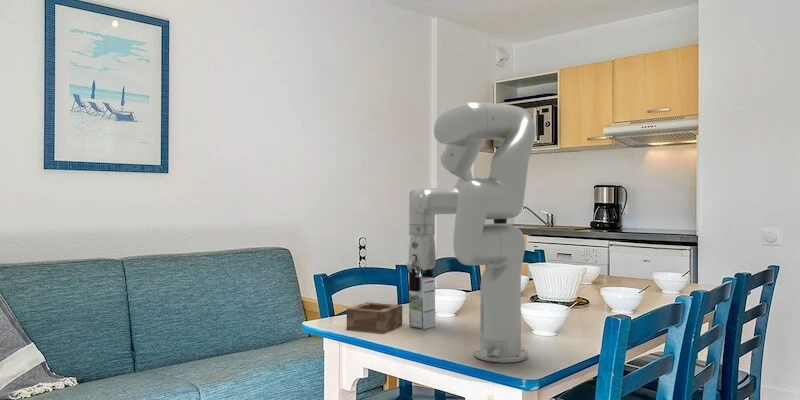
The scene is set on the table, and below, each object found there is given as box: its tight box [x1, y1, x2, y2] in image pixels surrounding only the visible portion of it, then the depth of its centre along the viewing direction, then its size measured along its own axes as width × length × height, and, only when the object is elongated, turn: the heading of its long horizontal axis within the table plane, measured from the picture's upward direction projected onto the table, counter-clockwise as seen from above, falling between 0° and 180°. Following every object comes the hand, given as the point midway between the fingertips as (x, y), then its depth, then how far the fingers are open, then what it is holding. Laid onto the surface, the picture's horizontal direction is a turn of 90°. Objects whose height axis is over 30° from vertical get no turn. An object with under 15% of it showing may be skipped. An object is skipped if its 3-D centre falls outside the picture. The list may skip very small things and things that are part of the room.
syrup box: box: [408, 275, 436, 330], centre depth 175 cm, size 6×6×14 cm
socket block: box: [346, 301, 403, 335], centre depth 174 cm, size 12×12×6 cm
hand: (421, 288), depth 176 cm, fingers open, 9 cm apart
